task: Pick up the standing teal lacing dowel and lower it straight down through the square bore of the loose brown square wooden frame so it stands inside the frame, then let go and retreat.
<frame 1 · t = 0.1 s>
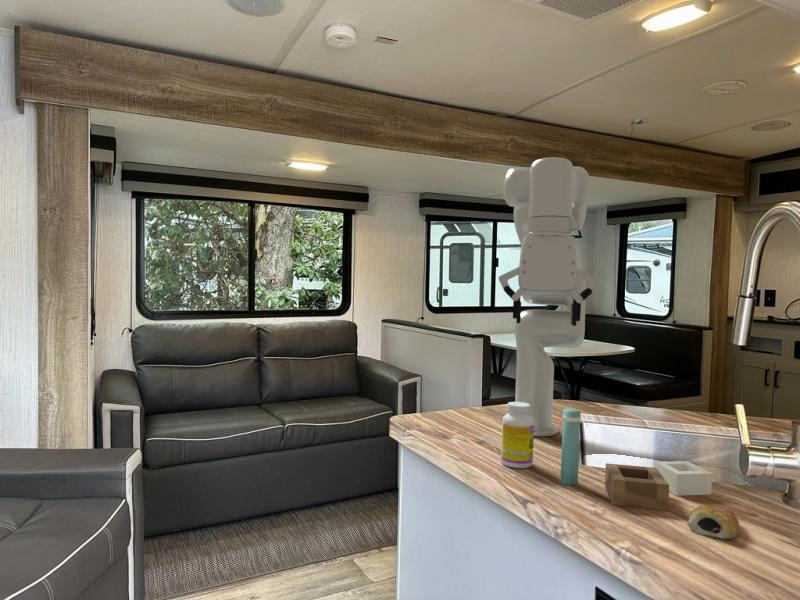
hand: (545, 324, 100), 31 cm above the counter, tool pointing down, fingers open, 9 cm apart
supplement bottle: (516, 465, 117), on the counter
dowel: (569, 482, 107), on the counter
white square holed block: (681, 488, 106), on the counter
pastry: (713, 531, 88), on the counter
brown square wooden frame: (634, 498, 100), on the counter
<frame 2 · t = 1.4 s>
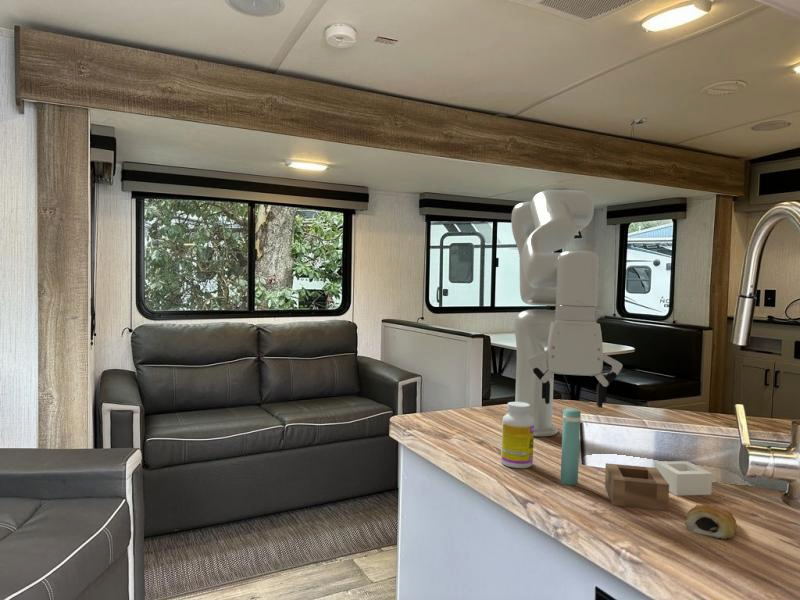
hand: (572, 404, 106), 15 cm above the counter, tool pointing down, fingers open, 9 cm apart
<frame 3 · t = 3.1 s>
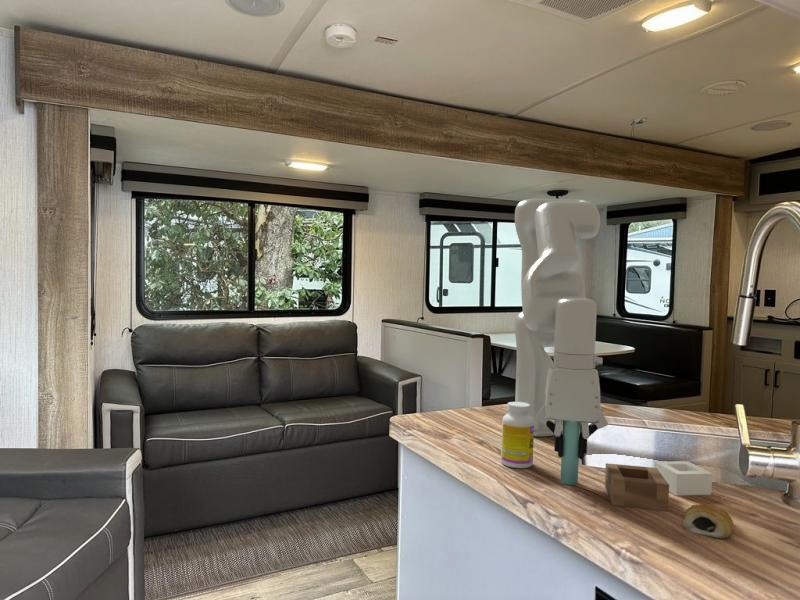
hand: (570, 455, 107), 5 cm above the counter, tool pointing down, fingers closed on dowel, 3 cm apart
dowel: (569, 482, 107), on the counter, touching gripper
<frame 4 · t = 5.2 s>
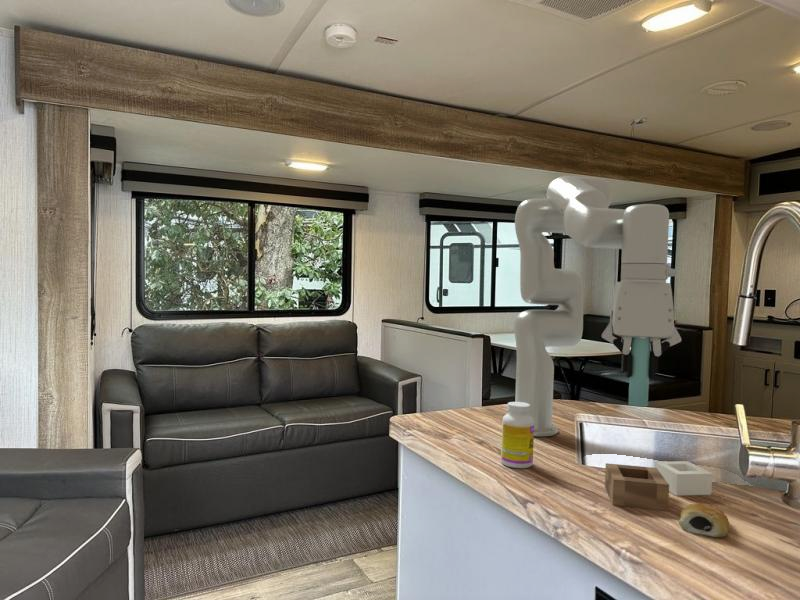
hand: (639, 375, 100), 22 cm above the counter, tool pointing down, fingers closed on dowel, 3 cm apart
dowel: (638, 404, 100), point 17 cm above the counter, touching gripper
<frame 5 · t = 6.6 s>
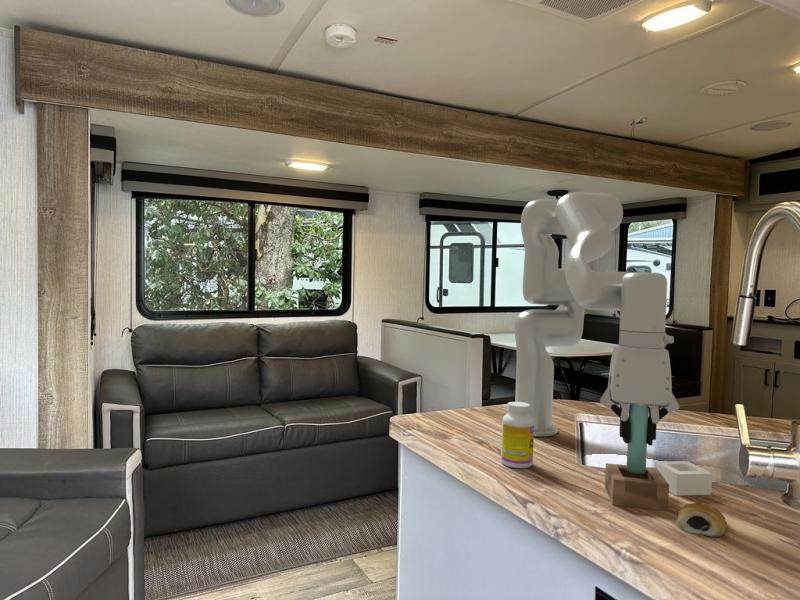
hand: (637, 441, 100), 10 cm above the counter, tool pointing down, fingers closed on dowel, 3 cm apart
dowel: (636, 470, 100), point 5 cm above the counter, touching gripper
when the fingers open (6 cm above the counter, at t = 7.8 s): dowel stays where it is, resting in brown square wooden frame.
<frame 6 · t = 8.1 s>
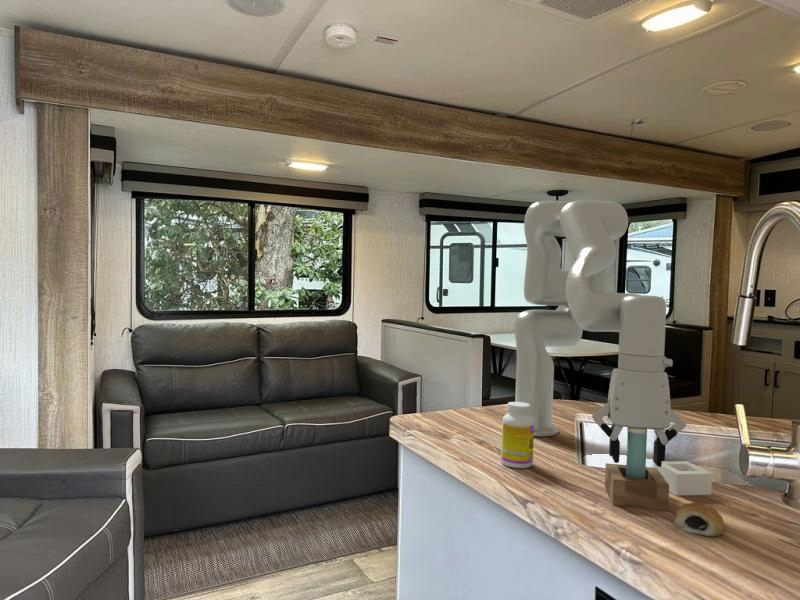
hand: (636, 461, 100), 7 cm above the counter, tool pointing down, fingers open, 6 cm apart
dowel: (634, 498, 100), resting in brown square wooden frame
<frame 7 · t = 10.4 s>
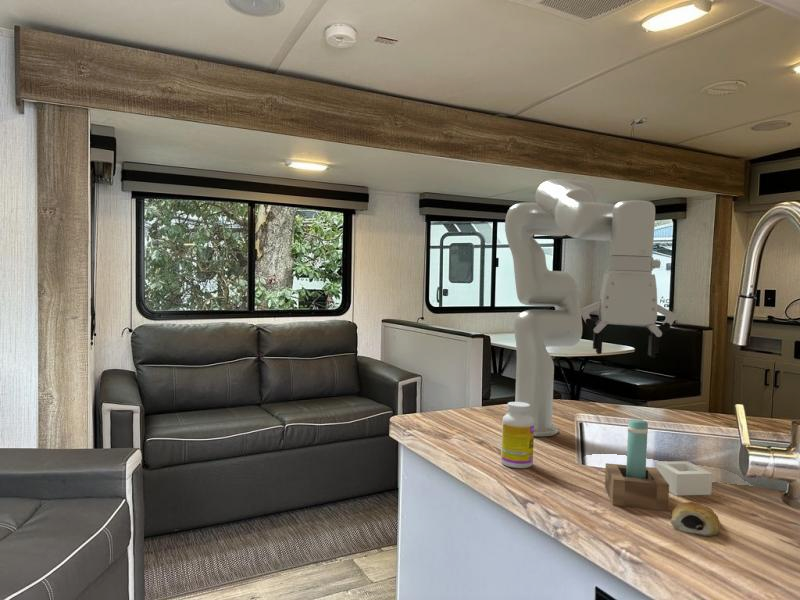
hand: (624, 354, 107), 25 cm above the counter, tool pointing down, fingers open, 9 cm apart
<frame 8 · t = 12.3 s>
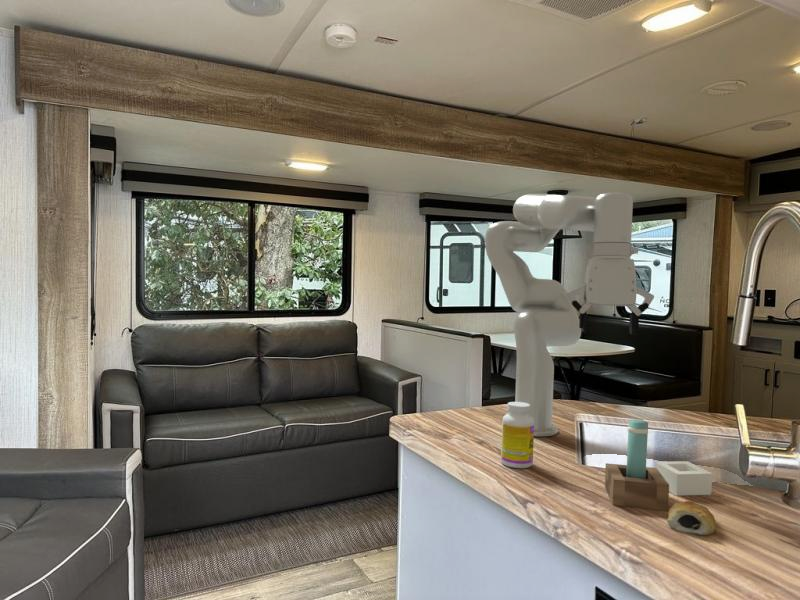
hand: (608, 333, 118), 28 cm above the counter, tool pointing down, fingers open, 9 cm apart
at the end: dowel 0.0 cm off-centre on the brown square wooden frame, point 0.0 cm above the brown square wooden frame's base; dowel tilted 0°; the gripper is holding nothing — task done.
